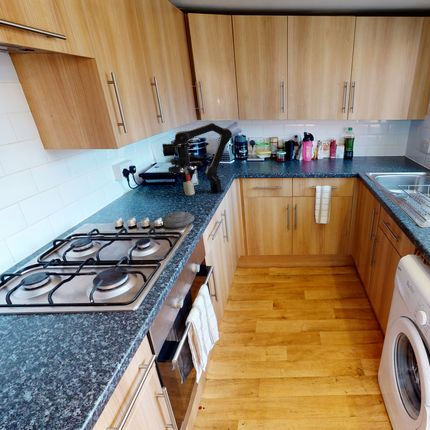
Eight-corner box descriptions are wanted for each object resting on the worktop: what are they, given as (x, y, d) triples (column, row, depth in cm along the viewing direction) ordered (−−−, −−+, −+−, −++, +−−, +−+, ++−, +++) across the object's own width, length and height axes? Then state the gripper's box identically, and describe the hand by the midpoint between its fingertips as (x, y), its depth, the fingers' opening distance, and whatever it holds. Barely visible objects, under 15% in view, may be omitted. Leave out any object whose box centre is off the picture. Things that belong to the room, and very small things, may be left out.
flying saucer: (156, 230, 128) (154, 219, 126) (167, 217, 142) (165, 207, 140) (191, 229, 129) (189, 218, 127) (197, 215, 143) (196, 205, 141)
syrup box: (191, 186, 186) (188, 164, 181) (186, 184, 190) (182, 163, 184) (199, 184, 191) (195, 162, 185) (193, 182, 194) (190, 161, 188)
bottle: (196, 193, 173) (193, 175, 168) (188, 196, 169) (185, 177, 164) (191, 191, 176) (188, 173, 171) (183, 194, 172) (179, 175, 167)
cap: (188, 179, 171) (187, 173, 170) (192, 180, 169) (191, 174, 168) (183, 180, 169) (182, 174, 167) (186, 181, 166) (185, 175, 165)
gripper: (189, 150, 174) (192, 175, 180) (160, 156, 160) (165, 182, 167) (200, 152, 168) (204, 178, 174) (171, 158, 154) (176, 186, 161)
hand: (187, 181), depth 169 cm, fingers closed on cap, 3 cm apart
